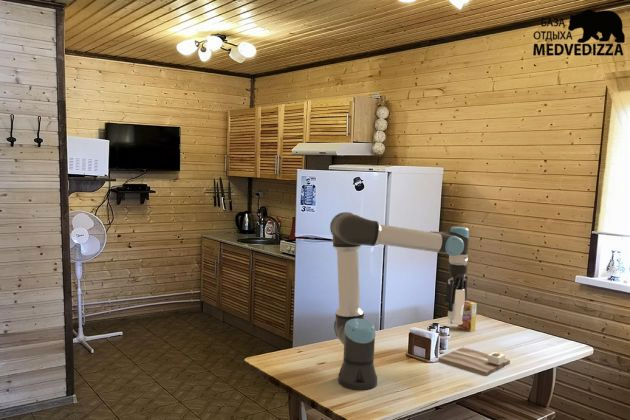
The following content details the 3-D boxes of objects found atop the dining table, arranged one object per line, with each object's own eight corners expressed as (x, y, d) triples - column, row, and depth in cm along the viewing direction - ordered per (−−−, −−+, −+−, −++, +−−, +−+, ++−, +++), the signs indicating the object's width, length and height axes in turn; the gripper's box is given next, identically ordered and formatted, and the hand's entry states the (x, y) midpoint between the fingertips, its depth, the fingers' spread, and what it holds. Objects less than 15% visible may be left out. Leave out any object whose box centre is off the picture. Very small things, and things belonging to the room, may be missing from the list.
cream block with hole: (498, 364, 224) (499, 357, 224) (487, 361, 228) (487, 354, 227) (504, 361, 229) (505, 354, 228) (493, 358, 232) (494, 351, 232)
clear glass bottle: (464, 325, 221) (466, 290, 220) (446, 324, 222) (448, 289, 221) (463, 321, 228) (464, 287, 227) (446, 319, 229) (448, 285, 228)
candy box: (456, 327, 285) (458, 299, 284) (462, 326, 288) (463, 299, 287) (470, 332, 278) (472, 303, 277) (475, 331, 281) (477, 302, 279)
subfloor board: (486, 375, 217) (486, 372, 217) (438, 360, 232) (438, 357, 232) (509, 363, 233) (509, 360, 232) (463, 350, 248) (463, 346, 248)
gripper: (454, 267, 214) (451, 323, 215) (477, 262, 228) (474, 315, 229) (438, 264, 219) (435, 319, 221) (461, 260, 233) (458, 311, 234)
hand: (455, 317), depth 225 cm, fingers closed on clear glass bottle, 6 cm apart
